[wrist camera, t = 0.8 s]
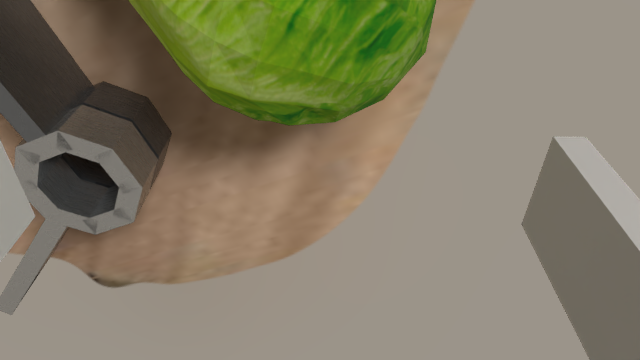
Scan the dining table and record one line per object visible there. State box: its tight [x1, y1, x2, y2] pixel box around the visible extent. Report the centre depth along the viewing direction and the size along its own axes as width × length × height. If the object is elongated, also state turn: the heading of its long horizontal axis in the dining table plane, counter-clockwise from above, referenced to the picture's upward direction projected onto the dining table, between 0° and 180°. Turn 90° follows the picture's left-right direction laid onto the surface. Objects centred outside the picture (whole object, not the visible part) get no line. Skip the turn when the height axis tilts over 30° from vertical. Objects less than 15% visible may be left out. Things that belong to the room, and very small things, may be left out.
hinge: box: [0, 0, 172, 315], centre depth 37 cm, size 28×21×8 cm
